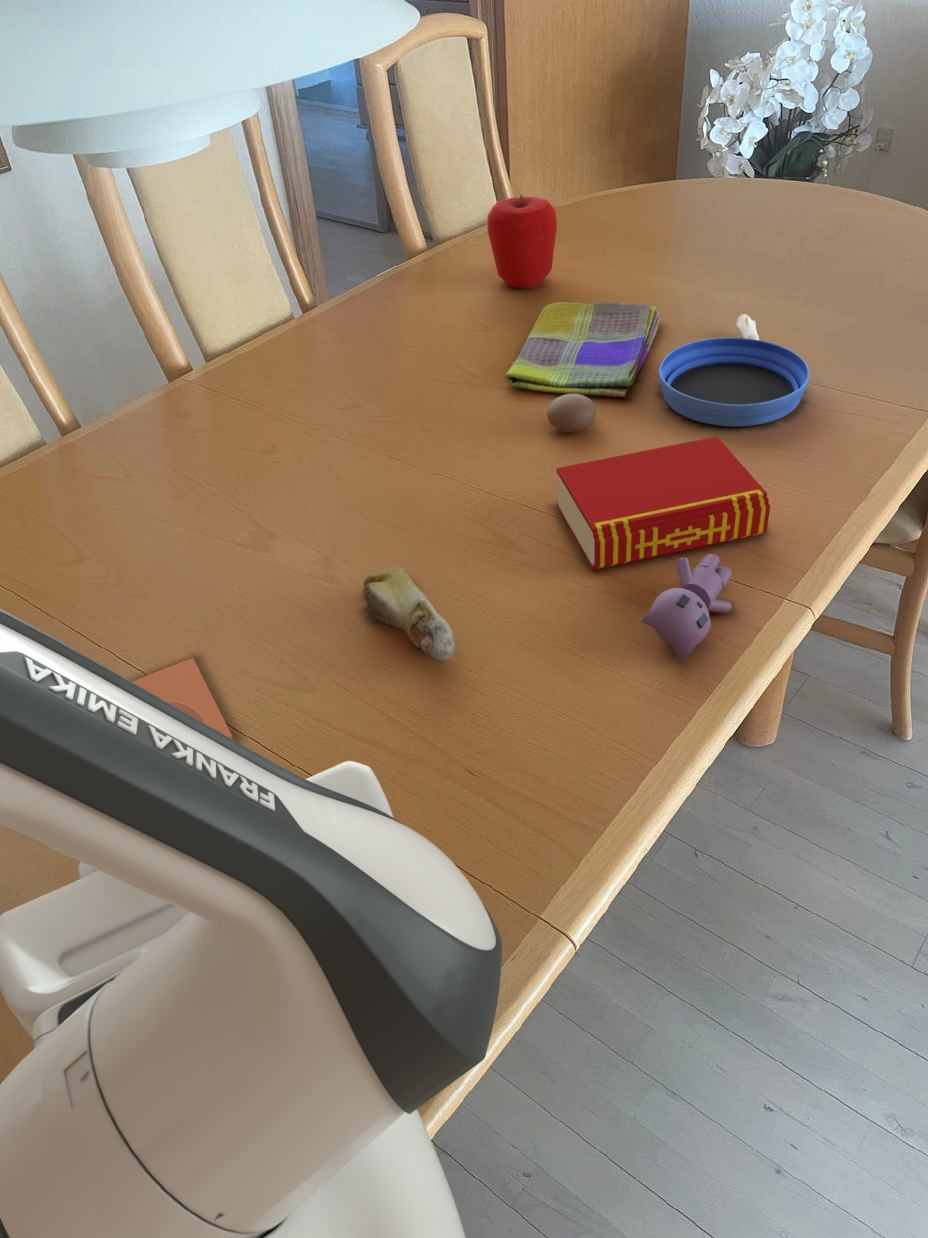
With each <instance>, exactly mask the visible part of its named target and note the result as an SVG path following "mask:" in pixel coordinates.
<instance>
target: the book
mask: <svg viewBox="0 0 928 1238" xmlns="http://www.w3.org/2000/svg"><path fill="white" fill-rule="evenodd" d="M556 473H557V492H558V493H557V495H558V497H557V498H558V503H556V505H557V506H556V507H557V509H558V511H559V513H560V514H561V517H562V518H563V520H564V522H565V524H566V525H567V527H568V529H569V530H570V532H571V534H572V536H573V537H574V539H575V541H576V543H577V545H578V546H579V548H580V550H581V552H582V554H583V555H584V557H585V559H586V561H587V562H588V565H589V566H590V568H591V570H592V571H595V570H599V569H605V568H610V567H612V566H613V567H614V566H618V565H623V564H629V563H632V562H638V561H642V560H647V559H650V558H652V559H653V558H655V557H660V556H665V555H669V554H674V553H679V552H683V551H689V550H693V549H699V548H702V547H703V548H704V547H708V546H712V545H717V544H721V543H726V542H732V541H735V540H736V541H737V540H740V539H744V538H749V537H755V536H759V535H762V534H764V533H767V532H768V525H769V518H770V512H771V505H770V504H769V501H770V499H769V498H768V492H767V491H766V490H765V489H764V488H763V486H762V485H760V482H758V481H757V480H756V479H755V478H754V476H753V475H752V474H751V473H750V472H749V471H748V469H747V468H746V467H745V466H744V465H743V463H741V461H740V460H739V459H738V458H737V457H736V456H735V455H734V454H733V452H732V451H731V450H730V449H729V448H728V447H727V445H726V444H724V442H723V441H722V440H721V439H720V438H719V437H718V436H712V437H706V438H702V439H697V440H692V441H687V442H681V443H676V444H672V445H667V446H661V447H656V448H652V449H646V450H641V451H637V452H631V453H627V454H622V455H621V454H620V455H615V456H611V457H607V458H601V459H596V460H591V461H586V462H581V463H576V464H571V465H566V466H560V467H557V468H556Z"/></svg>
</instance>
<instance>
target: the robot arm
mask: <svg viewBox="0 0 928 1238" xmlns="http://www.w3.org/2000/svg"><path fill="white" fill-rule="evenodd" d="M0 827H1V828H5V829H7V830H10V831H12V832H15V833H17V834H19V835H22V836H23V837H25V838H27V839H30V840H32V841H34V842H37V843H39V844H41V845H43V846H45V847H48V848H49V849H52V850H54V851H56V852H58V853H61V854H63V855H65V856H67V857H70V858H71V859H73V860H76V861H78V862H79V863H78V865H77V871H78V875H79V879H77V880H75V881H72V882H70V883H68V884H66V885H64V886H61V887H59V888H57V889H55V890H52V891H49V892H48V893H46V894H43V895H41V896H39V897H36V898H34V899H32V900H30V901H27V902H25V903H22V904H21V905H18V906H16V907H14V908H11V909H8V910H7V911H5V912H3V913H1V914H0V992H1V995H2V996H3V999H4V1001H5V1003H6V1005H7V1007H8V1008H9V1009H10V1011H11V1013H12V1014H13V1015H14V1016H15V1018H16V1019H17V1021H18V1022H19V1024H20V1025H21V1026H22V1028H23V1030H25V1032H26V1033H27V1035H28V1036H29V1037H30V1038H31V1039H32V1041H33V1045H34V1048H33V1049H32V1050H31V1051H30V1052H29V1053H27V1055H26V1056H24V1057H23V1059H21V1060H20V1061H19V1062H18V1063H17V1065H16V1066H15V1067H14V1068H13V1069H12V1070H11V1071H10V1073H9V1074H8V1075H6V1077H5V1078H3V1079H2V1080H1V1081H0V1238H467V1237H466V1234H465V1231H464V1227H463V1224H462V1220H461V1216H460V1215H459V1211H458V1207H457V1204H456V1202H455V1199H454V1196H453V1193H452V1190H451V1187H450V1185H449V1182H448V1179H447V1177H446V1174H445V1172H444V1168H443V1167H442V1164H441V1162H440V1158H439V1157H438V1154H437V1151H436V1149H435V1147H434V1145H433V1142H432V1139H431V1137H430V1135H429V1133H428V1130H427V1128H426V1125H425V1124H424V1121H423V1119H422V1117H421V1115H420V1112H419V1110H418V1109H419V1108H420V1107H422V1106H423V1105H424V1104H426V1103H427V1102H429V1101H430V1100H432V1099H433V1098H434V1097H436V1096H437V1095H438V1094H439V1093H441V1092H442V1091H443V1090H445V1089H446V1088H448V1087H449V1086H450V1085H451V1084H453V1083H454V1082H456V1081H457V1080H458V1079H459V1078H461V1077H462V1076H464V1075H465V1074H467V1073H468V1072H469V1071H471V1070H472V1069H473V1068H475V1067H476V1066H477V1065H479V1064H480V1063H482V1062H483V1061H484V1060H485V1058H486V1055H487V1051H488V1048H489V1044H490V1040H491V1036H492V1032H493V1028H494V1022H495V1018H496V1013H497V1008H498V1003H499V995H500V988H501V987H500V986H501V976H502V959H503V955H502V953H503V952H502V951H503V944H502V938H501V935H500V931H499V929H498V927H497V924H496V923H495V920H494V919H493V917H492V915H491V913H490V912H489V910H488V909H487V907H486V906H485V904H484V903H483V901H482V900H481V898H480V897H479V895H478V893H477V892H476V890H475V888H474V887H473V886H472V884H471V883H470V881H469V880H468V879H467V877H466V876H465V875H464V873H463V872H462V871H461V870H460V869H459V867H458V866H457V865H456V864H455V863H454V862H453V861H452V859H450V857H448V856H447V855H446V854H445V853H444V852H443V851H442V850H441V849H440V848H439V847H438V846H436V845H435V844H434V843H433V842H431V841H430V840H429V839H427V838H426V837H425V836H423V835H422V834H420V833H418V832H417V831H416V830H414V829H412V828H411V827H409V826H407V825H405V824H404V823H403V822H401V821H399V819H396V818H395V817H394V814H393V811H392V809H391V806H390V803H389V801H388V798H387V796H386V794H385V792H384V790H383V787H382V785H381V784H380V782H379V780H378V778H377V776H376V774H375V772H374V771H373V769H372V768H371V766H369V765H368V764H367V765H366V764H363V763H360V762H358V761H353V760H346V761H343V762H340V763H338V764H336V765H334V766H332V767H329V768H327V769H325V770H323V771H320V772H318V773H316V774H314V775H312V776H309V777H307V778H304V777H301V776H299V775H297V774H295V773H293V772H292V771H290V770H287V769H286V768H284V767H282V766H280V765H279V764H277V763H275V762H273V761H271V760H269V759H268V758H266V757H265V756H262V755H261V754H259V753H257V752H255V751H254V750H251V749H250V748H248V747H246V746H245V745H243V744H241V743H240V742H238V741H236V740H235V739H234V738H233V739H231V738H229V737H227V736H226V735H224V734H222V733H220V732H219V731H217V730H215V729H214V728H212V727H210V726H208V725H207V724H205V723H203V722H201V721H200V720H198V719H196V718H194V717H193V716H191V715H189V714H187V713H186V712H184V711H182V710H180V709H179V708H177V707H175V706H173V705H172V704H170V703H168V702H166V701H165V700H163V699H161V698H159V697H158V696H156V695H154V694H152V693H151V692H149V691H147V690H145V689H144V688H142V687H140V686H138V685H137V684H135V683H133V682H132V680H130V679H128V678H126V677H125V676H123V675H122V674H119V673H117V672H116V671H114V670H112V669H110V668H109V667H107V666H105V665H103V664H101V663H100V662H98V661H96V660H95V659H93V658H91V657H90V656H88V655H86V654H84V653H82V652H80V651H79V650H77V649H75V648H73V646H70V645H68V644H67V643H65V642H62V641H61V640H59V639H58V638H55V637H54V636H52V635H50V634H48V633H46V632H45V631H43V630H41V629H39V628H37V627H36V626H35V625H32V624H30V623H28V622H26V621H24V620H22V619H21V618H19V617H17V616H16V615H14V614H11V613H9V612H8V611H6V610H4V609H3V608H0Z"/></svg>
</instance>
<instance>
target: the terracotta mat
mask: <svg viewBox="0 0 928 1238" xmlns="http://www.w3.org/2000/svg"><path fill="white" fill-rule="evenodd" d="M131 682H133V683H135V684H137V685H138V686H140V687H142V688H144V689H145V690H147V691H149V692H151V693H152V694H154V695H156V696H158V697H159V698H161V699H163V700H165V701H176V702H181V703H184V704H187V705H189V706H191V707H193V708H194V709H196V710H197V711H198V712H199V713H200V714H201V715H202V716H203V718H204V720H205V723H206V724H207V725H208V726H210V727H212V728H214V729H215V730H217V731H219V732H220V733H222V734H224V735H226V736H227V737H229V738H231V739H233V740H234V738H233V735H232V734H231V731H230V729H229V727H228V726H227V723H226V721H225V719H224V717H223V715H222V713H221V711H220V709H219V707H218V705H217V703H216V700H215V699H214V697H213V695H212V693H211V691H210V689H209V687H208V685H207V683H206V681H205V679H204V676H203V675H202V673H201V671H200V668H199V667H198V665H197V662H196V661H195V659H194V657H190V658H189V659H188V658H187V659H186V660H183V661H181V662H178V663H176V664H173V665H171V666H168V667H165V668H163V669H160V670H158V671H155V672H152V673H150V674H147V675H145V676H143V677H140V678H137V679H134V680H131Z"/></svg>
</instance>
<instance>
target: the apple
mask: <svg viewBox="0 0 928 1238" xmlns="http://www.w3.org/2000/svg"><path fill="white" fill-rule="evenodd" d="M486 216H487V219H486V220H487V225H486V226H487V227H486V230H487V234H488V239H489V243H490V246H491V251H492V255H493V259H494V260H493V261H494V263H495V268H496V272H497V276H498V277H499V278H500V279H501V280H502V281H503V282H504V283H505V284H506V285H508V286H509V287H511V288H515V289H531V288H535V287H537V286H538V285H540V284H541V283H542V282H543V281H544V280H545V279H546V278H547V277H548V275H550V273H551V271H552V269H553V261H554V254H555V253H554V252H555V245H556V237H557V231H558V221H557V211H556V209H555V207H554V206H553V204H551V203H550V201H549V200H547V199H546V198H543V197H537V196H523V194H522V193H521V194H520V196H518V197H509V198H503V199H501V200H499V201H496V202H495V203H494V205H492V207H491V209H490V211H489V212H488V214H487V215H486Z"/></svg>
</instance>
